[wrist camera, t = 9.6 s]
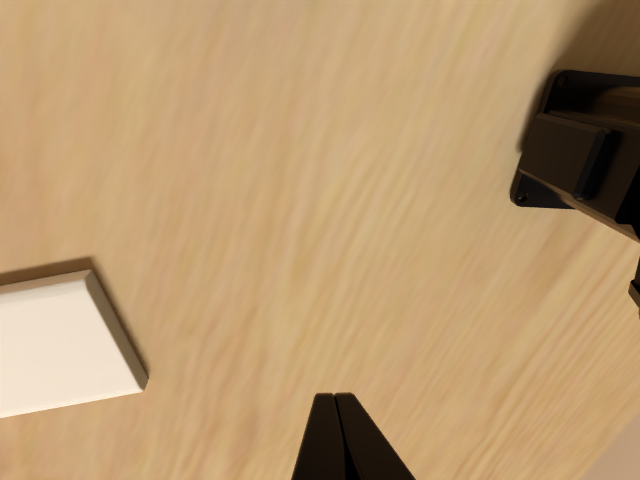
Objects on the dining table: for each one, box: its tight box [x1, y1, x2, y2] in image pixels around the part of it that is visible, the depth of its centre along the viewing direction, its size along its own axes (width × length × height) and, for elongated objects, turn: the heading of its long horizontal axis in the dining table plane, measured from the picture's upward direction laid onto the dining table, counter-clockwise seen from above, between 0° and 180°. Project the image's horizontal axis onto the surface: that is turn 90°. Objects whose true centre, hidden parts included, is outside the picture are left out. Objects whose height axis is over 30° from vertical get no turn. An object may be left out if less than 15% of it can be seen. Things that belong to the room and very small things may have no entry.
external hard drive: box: [0, 269, 148, 418], centre depth 21 cm, size 2×8×12 cm
